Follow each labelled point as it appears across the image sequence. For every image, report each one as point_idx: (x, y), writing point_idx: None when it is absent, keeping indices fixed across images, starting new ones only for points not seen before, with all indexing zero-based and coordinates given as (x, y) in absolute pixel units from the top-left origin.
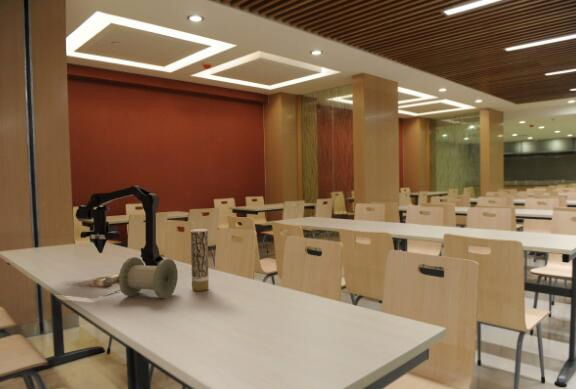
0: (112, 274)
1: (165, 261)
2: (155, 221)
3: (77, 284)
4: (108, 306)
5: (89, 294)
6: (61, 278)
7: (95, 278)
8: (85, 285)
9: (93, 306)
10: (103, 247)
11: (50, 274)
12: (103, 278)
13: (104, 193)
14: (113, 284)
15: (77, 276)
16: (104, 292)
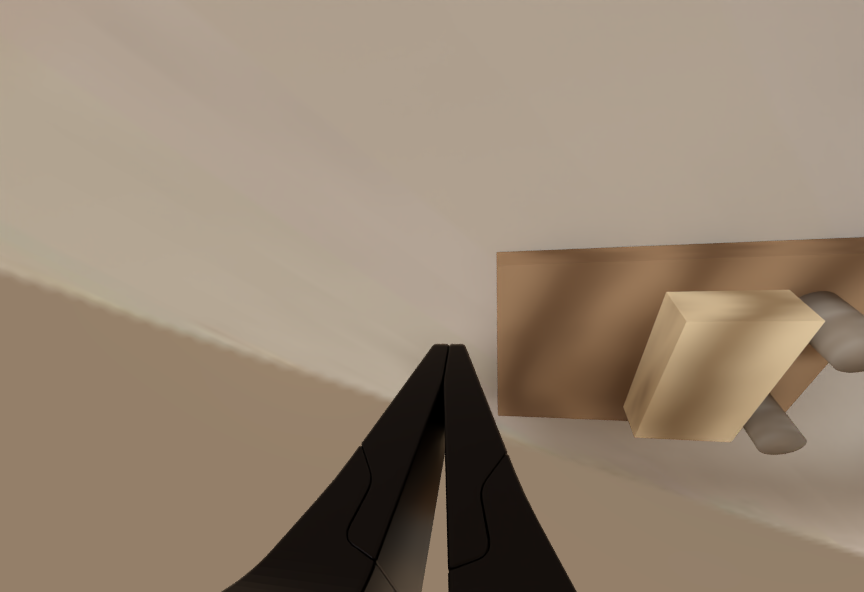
0: (718, 325)
1: None
2: None
3: (525, 406)
4: (857, 510)
5: (671, 440)
6: (223, 283)
7: (644, 419)
8: (587, 411)
9: (786, 512)
10: (494, 429)
11: (33, 230)
12: (707, 412)
13: None
14: None
15: (237, 209)
16: None
